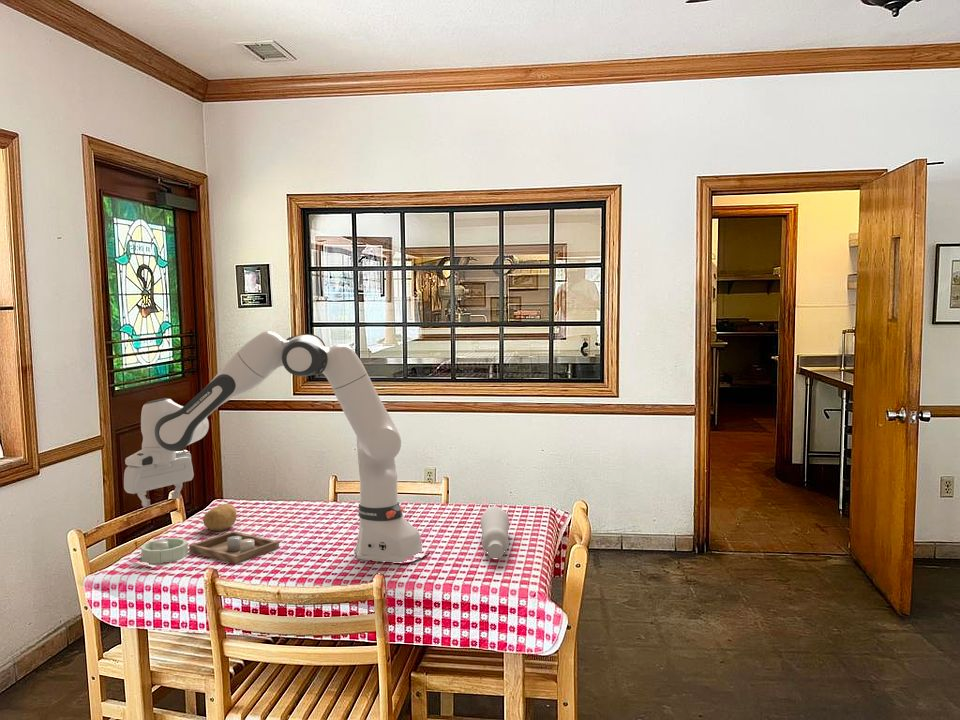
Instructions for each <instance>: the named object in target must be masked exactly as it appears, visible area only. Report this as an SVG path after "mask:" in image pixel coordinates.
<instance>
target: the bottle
mask: <svg viewBox="0 0 960 720" xmlns="http://www.w3.org/2000/svg"><path fill="white" fill-rule="evenodd" d="M509 518H510V517H509V515H508V513H507V511H505V510H503V509H502V508H501V507H499V506H496V505H495V506H489V507H487V508H486V509H485V511H484V512H482V515H481V517H480V528H481V533H482V539H481V546H482V549H483V551H484V550H485V551H486V552H488V554H487V555H488V557H489V558H490V559H492V558H499V559H501V558H502V557H503V555H504V553H505V552H507V550H508V548H509V545H510V540H509V538H508V536H509V528H510V519H509ZM485 551H484V552H485ZM504 551H505V552H504ZM486 552H485V553H486Z"/></svg>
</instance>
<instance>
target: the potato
mask: <svg viewBox="0 0 960 720" xmlns="http://www.w3.org/2000/svg"><path fill="white" fill-rule="evenodd" d="M237 517H238V514H237V509H236V506H234V505H233V504H231V503H222V504H220V505H217V506H214V507H213V508H211V509H210V510H208V511H207V512H206V513H205V514H204V516H203V518H202V522H203V525H204V526H205V528H207V529H208V530H211V531H212V532H221V531H225V530H228V529H229V528H231V527H233V525H234V524H235V522H236V520H237Z"/></svg>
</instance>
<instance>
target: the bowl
mask: <svg viewBox="0 0 960 720" xmlns="http://www.w3.org/2000/svg"><path fill="white" fill-rule="evenodd" d="M159 540H167V541H168V549H164V550H153V542H155V541H159ZM140 553H141V563H142V562H147V563H150V564H164V562H165V563H171V562H175V561H178V560H181V559H184V558H185V557H186V556H188V554H189V546H188V541H187V539H186V538H185V539H184V538H182V537H181V538H180V537H165V538H159V539H154V540H150V541H147V542H145V543H144V544H142V545H141V546H140Z"/></svg>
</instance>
